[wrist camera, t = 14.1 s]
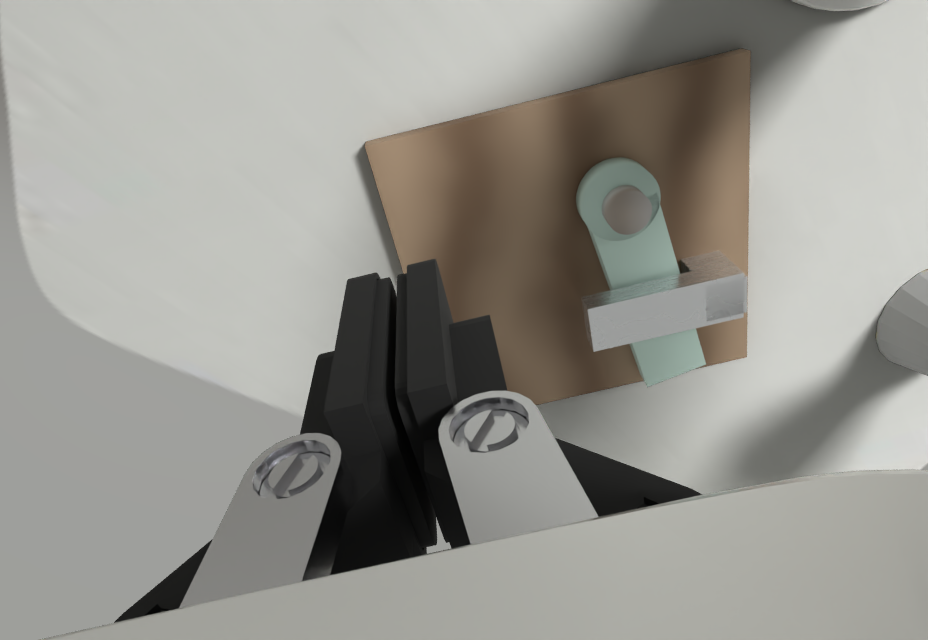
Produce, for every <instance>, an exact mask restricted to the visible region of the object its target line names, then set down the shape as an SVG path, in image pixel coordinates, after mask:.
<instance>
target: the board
mask: <svg viewBox="0 0 928 640" xmlns="http://www.w3.org/2000/svg"><path fill="white" fill-rule="evenodd" d="M750 59H751V51H750V50H746V49H742V48H741V49H737V50H733V51H729V52H725V53H721V54H717V55H713V56H709V57H705V58H701V59H697V60H693V61H689V62H685V63H681V64H677V65H673V66H669V67H665V68H661V69H657V70H653V71H649V72H645V73H640V74H636V75H632V76H628V77H624V78H620V79H616V80H612V81H608V82H604V83H600V84H596V85H592V86H588V87H584V88H580V89H576V90H572V91H568V92H564V93H560V94H556V95H552V96H548V97H544V98H540V99H536V100H532V101H528V102H524V103H520V104H516V105H512V106H508V107H504V108H500V109H496V110H491V111H487V112H483V113H479V114H475V115H471V116H467V117H463V118H459V119H455V120H451V121H447V122H443V123H439V124H435V125H431V126H427V127H423V128H419V129H415V130H411V131H407V132H403V133H399V134H395V135H391V136H387V137H383V138H379V139H375V140H371V141H367V142H366V143H365V149H366V152H367V155H368V159H369V162H370V165H371V168H372V172H373V175H374V178H375V182H376V185H377V188H378V191H379V195H380V198H381V201H382V205H383V208H384V211H385V214H386V218H387V221H388V224H389V227H390V231H391V234H392V237H393V241H394V244H395V247H396V250H397V254H398V257H399V260H400V264H401V267H402V270H403V273H404V274H405V273H407V265H410V264H414V263H418V262H422V261H427V260H431V259H436V261H437V264H438V267H439V271H440V275H441V278H442V282H443V286H444V289H445V293H446V297H447V300H448V304H449V308H450V311H451V315H452V319H453V323H455V322H460V321H464V320H468V319H473V318H477V317H481V316H485V315H490V318H491V322H492V327H493V331H494V335H495V339H496V344H497V348H498V352H499V357H500V361H501V365H502V369H503V374H504V378H505V382H506V386H507V391H510V392H515V393H519V394H521V395H523V396H525V397H527V398H529V399H530V400H531V401H532V402H533V403H534V404H535V405H539V404H543V403H547V402H552V401H556V400H561V399H565V398H569V397H574V396H578V395H583V394H587V393H591V392H596V391H600V390H605V389H609V388H613V387H618V386H622V385H626V384H631V383H635V382H640V381H644V380H643V378H642V376H641V375H640V372H639V369H638V366H637V364H636V361H635V358H634V355H633V352H632V350H631V347H630V344H626V345H621V346H617V347H613V348H608V349H604V350H600V351H595V352H593V349H592V347H591V345H590V343H589V341H588V339H587V333H586V326H585V319H584V312H583V305H582V298H581V297H583V296H588V295H592V294H596V293H601V292H605V291H609V290H610V288H609V286H608V283H607V280H606V277H605V275H604V272H603V269H602V266H601V263H600V261H599V258H598V255H597V252H596V249H595V247H594V244H593V241H592V238H591V236H590V233H589V230H588V227H587V225H586V224H585V222H584V221H583V219H582V218H581V216H580V214H579V212H578V209H577V205H576V194H577V190H578V186H579V184H580V182H581V180H582V178H583V177H584V176H585V174H586V173H587V172H588V171H589V170H590V169H591V168H592V167H593V166H595V165H596V164H598V163H600V162H602V161H604V160H606V159H610V158H616V157H623V158H628V159H632V160H634V161H636V162H638V163H639V164H640V165H642V166H643V167H644V168H645V169H646V170H647V171H648V172H649V173H651V174H652V175H653V177H654V178H655V179H656V181H657V183H658V185H659V188H660V194H661V200H660V205H661V209H662V212H663V216H664V219H665V223H666V226H667V230H668V233H669V237H670V240H671V244H672V247H673V251H674V254H675V257H676V261H677V264H678V268H679V271H680V274H682V271H681V259H684V258H689V257H693V256H697V255H701V254H706V253H710V252H714V251H718V250H719V251H721V252H722V253H723V254H724V255H725V256H726V257H727V258H728V259H729V260H730V261H731V262H733V263H734V264H735V265H736V266H737V267H738V268H739V269H740V270H741V271H743V272H744V274H745V275H746V276H747V295H748V216H749V138H750ZM602 215H603V217H604V219H605V220H606V221H607V223H608V224H609V225H610V227H611V228H612V229H613V230H614V231H615V232H617V233H619V234H623V235H630V234H634V233H636V232H638V231H640V230H641V229H643V228H644V227H645V226H646V225H647V223H648V222H649V220H650V218H651V215H652V205H651V202H650V201H649V199H648V198H647V197H646V196H645V195H644V194H643V193H642V192H641V191H640V190H639V189H638V188H636V187H634V186H632V185H621V186H618V187H616V188H614V189H612V190H611V191H610V192H609V193H608V194H607V195H606V197H605V198H604V200H603V203H602ZM696 331H697V334H698V338H699V341H700V345H701V348H702V352H703V355H704V359H705V362H706V365H703V366H701V367H706V366H710V365H714V364H719V363H723V362H728V361H732V360H736V359H741V358H745V357H747V312H746V313H744V317H743V318H739V319H734V320H730V321H726V322H721V323H717V324H712V325H708V326H704V327H699V328H696ZM701 367H698V368H701ZM696 369H697V368H696Z"/></svg>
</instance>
